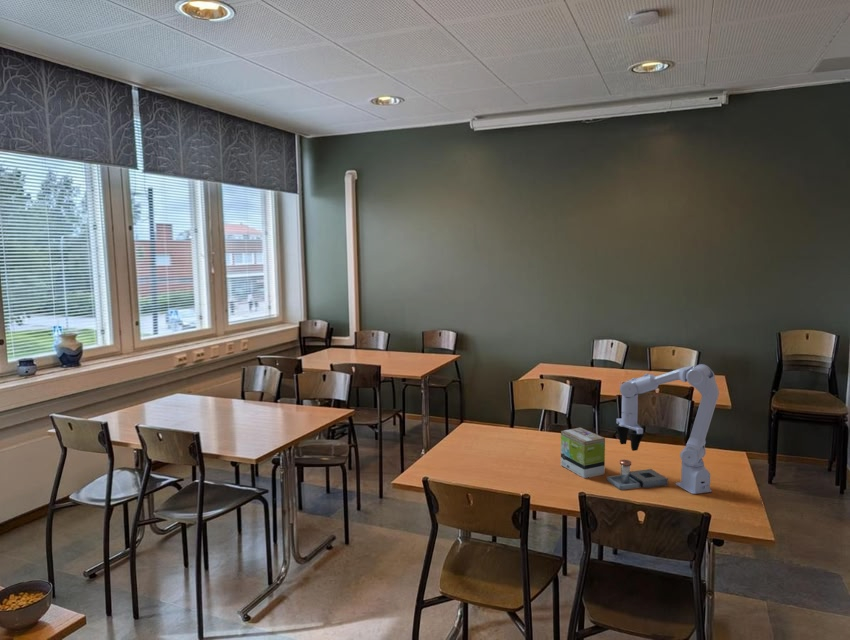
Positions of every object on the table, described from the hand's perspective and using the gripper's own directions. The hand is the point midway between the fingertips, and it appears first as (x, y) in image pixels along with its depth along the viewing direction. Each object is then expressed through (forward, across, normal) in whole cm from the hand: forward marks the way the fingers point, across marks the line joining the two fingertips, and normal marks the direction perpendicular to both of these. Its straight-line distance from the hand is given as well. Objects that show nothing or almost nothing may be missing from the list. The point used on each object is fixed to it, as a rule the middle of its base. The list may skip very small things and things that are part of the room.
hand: (628, 447), depth 222 cm
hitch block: (+10, +9, +2) cm, 14 cm away
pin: (+10, +8, -7) cm, 15 cm away
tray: (+10, +8, -8) cm, 15 cm away
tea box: (+11, -8, -15) cm, 20 cm away
